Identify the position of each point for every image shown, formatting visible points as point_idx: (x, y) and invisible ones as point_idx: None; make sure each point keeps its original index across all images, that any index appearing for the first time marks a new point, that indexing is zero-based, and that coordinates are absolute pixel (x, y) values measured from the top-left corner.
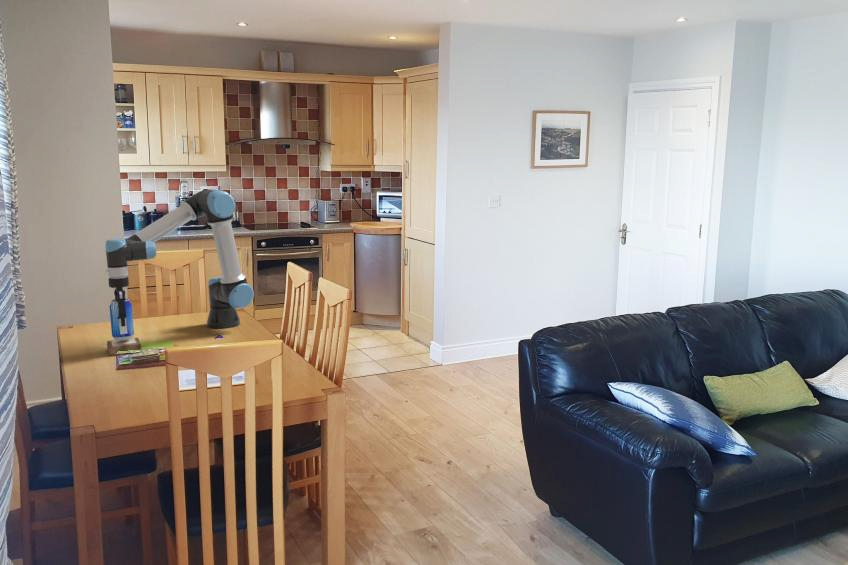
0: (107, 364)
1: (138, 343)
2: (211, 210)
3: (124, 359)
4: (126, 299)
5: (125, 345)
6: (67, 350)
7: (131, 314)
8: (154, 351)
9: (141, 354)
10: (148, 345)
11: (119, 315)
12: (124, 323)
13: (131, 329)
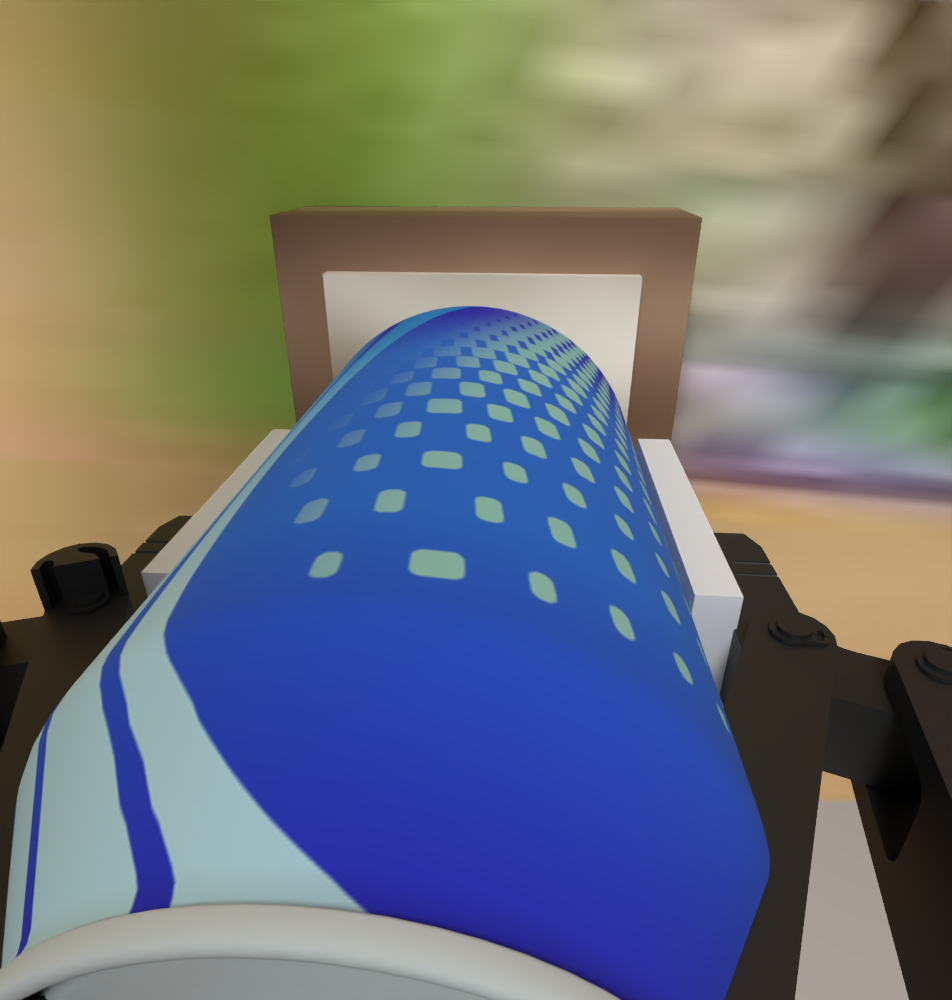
0: (947, 577)
1: (644, 245)
2: None
3: (875, 422)
4: (93, 944)
5: (655, 416)
6: None
7: (569, 475)
8: (734, 17)
9: (781, 217)
10: (340, 67)
11: (904, 811)
12: (769, 576)
13: (587, 379)
